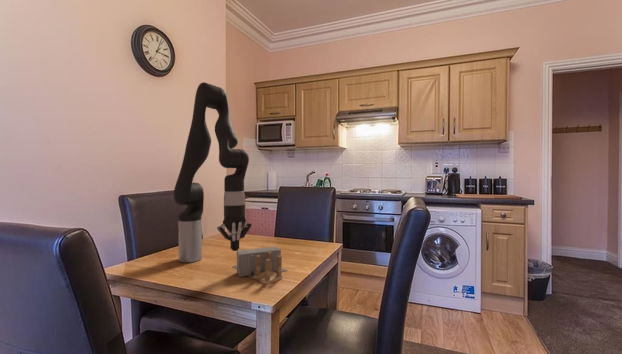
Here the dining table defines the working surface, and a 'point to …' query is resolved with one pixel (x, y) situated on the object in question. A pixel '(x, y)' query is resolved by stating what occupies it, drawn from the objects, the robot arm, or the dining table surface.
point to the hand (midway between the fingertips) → (234, 250)
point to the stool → (268, 270)
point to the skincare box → (248, 260)
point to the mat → (253, 275)
